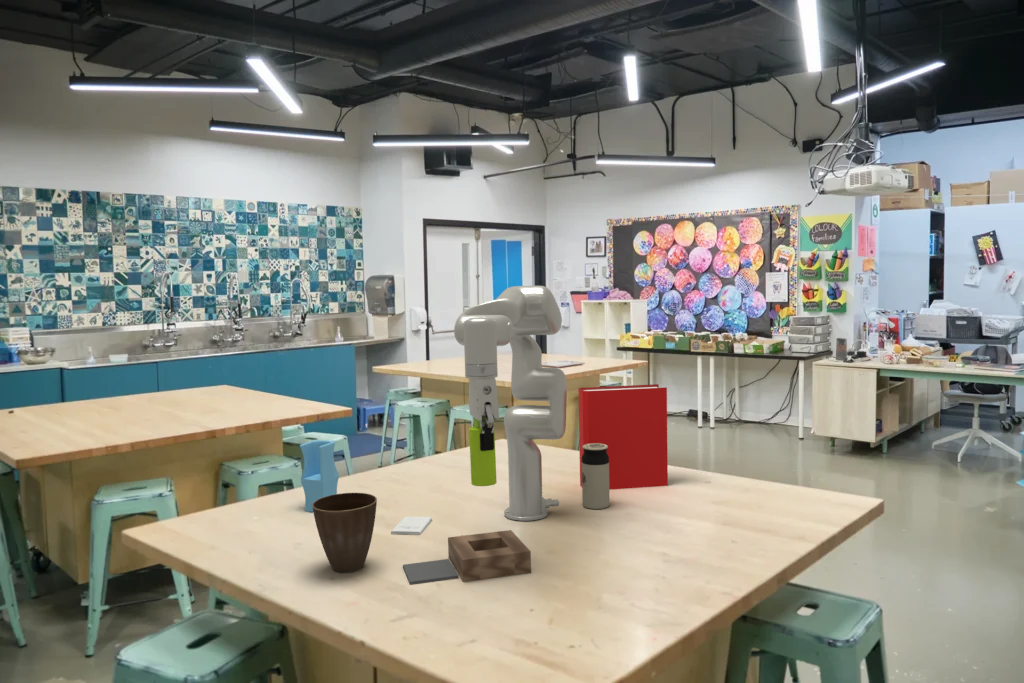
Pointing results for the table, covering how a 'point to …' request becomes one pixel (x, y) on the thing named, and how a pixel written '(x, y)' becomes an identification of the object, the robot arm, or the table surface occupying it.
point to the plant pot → (345, 528)
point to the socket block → (488, 555)
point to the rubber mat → (429, 571)
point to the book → (627, 432)
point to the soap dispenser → (481, 459)
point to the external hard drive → (412, 525)
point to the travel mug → (595, 476)
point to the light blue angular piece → (318, 471)
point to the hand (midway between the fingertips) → (483, 446)
